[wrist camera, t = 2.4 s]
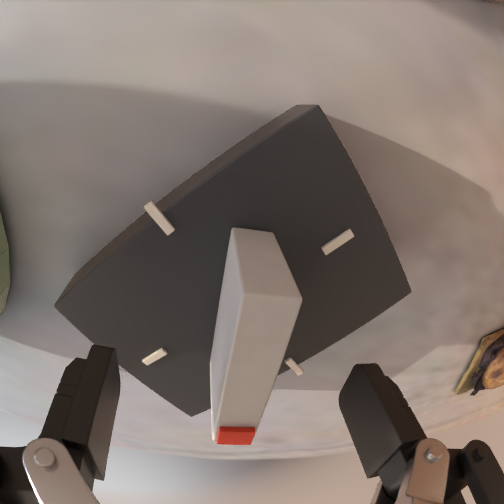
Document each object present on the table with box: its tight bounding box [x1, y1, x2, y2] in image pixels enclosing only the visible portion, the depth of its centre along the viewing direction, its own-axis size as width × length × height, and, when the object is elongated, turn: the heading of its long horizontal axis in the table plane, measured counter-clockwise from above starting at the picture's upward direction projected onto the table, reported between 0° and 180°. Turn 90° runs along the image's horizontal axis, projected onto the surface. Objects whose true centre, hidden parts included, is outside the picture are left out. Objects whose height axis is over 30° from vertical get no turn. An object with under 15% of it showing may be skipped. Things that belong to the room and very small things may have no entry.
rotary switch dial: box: [55, 105, 411, 417], centre depth 15 cm, size 14×11×3 cm
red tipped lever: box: [210, 227, 302, 445], centre depth 11 cm, size 7×2×5 cm, turn 170°
